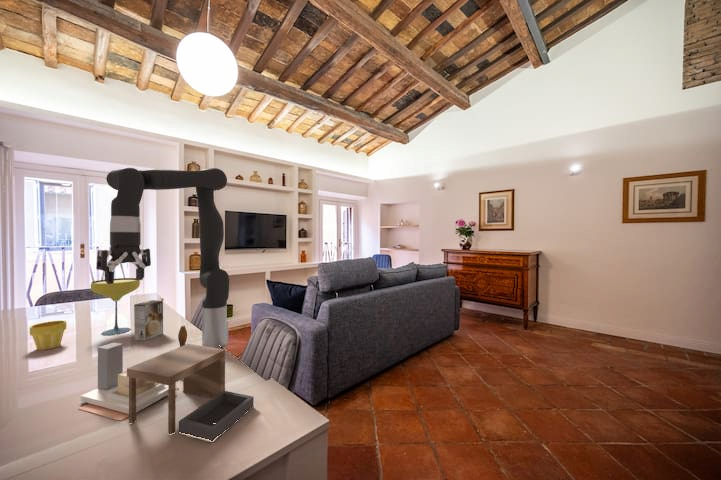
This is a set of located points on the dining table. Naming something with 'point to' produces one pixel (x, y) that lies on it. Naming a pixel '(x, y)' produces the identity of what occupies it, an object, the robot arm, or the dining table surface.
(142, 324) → the coffee box
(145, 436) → the dining table surface
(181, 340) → the hand bell
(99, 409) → the pad
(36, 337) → the plant pot
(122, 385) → the birch block
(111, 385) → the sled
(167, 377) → the small wooden table
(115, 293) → the cocktail glass
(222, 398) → the pit trap
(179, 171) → the robot arm
